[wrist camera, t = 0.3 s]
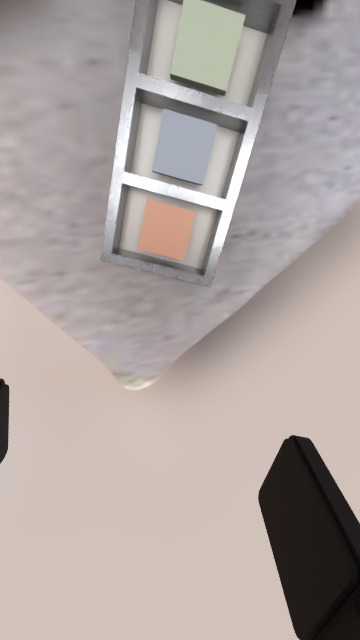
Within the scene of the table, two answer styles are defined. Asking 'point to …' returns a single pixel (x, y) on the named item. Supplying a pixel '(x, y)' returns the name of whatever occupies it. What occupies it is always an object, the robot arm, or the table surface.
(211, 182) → the base
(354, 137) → the table surface
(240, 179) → the frame
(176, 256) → the key terracotta
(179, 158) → the key slate
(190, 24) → the key sage
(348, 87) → the table surface
